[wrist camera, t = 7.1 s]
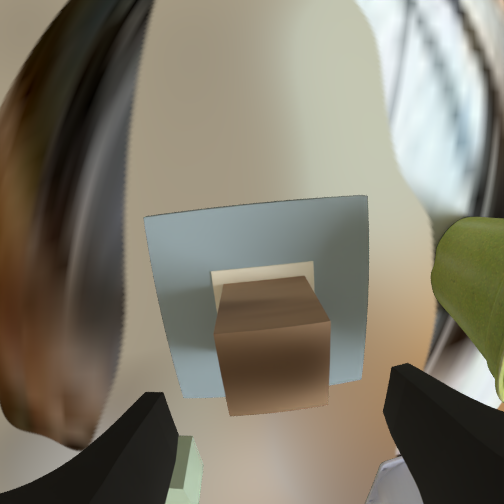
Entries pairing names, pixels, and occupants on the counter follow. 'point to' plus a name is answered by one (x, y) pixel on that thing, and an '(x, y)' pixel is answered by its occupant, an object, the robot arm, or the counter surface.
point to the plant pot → (475, 286)
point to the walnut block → (272, 346)
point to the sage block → (186, 474)
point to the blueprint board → (259, 274)
